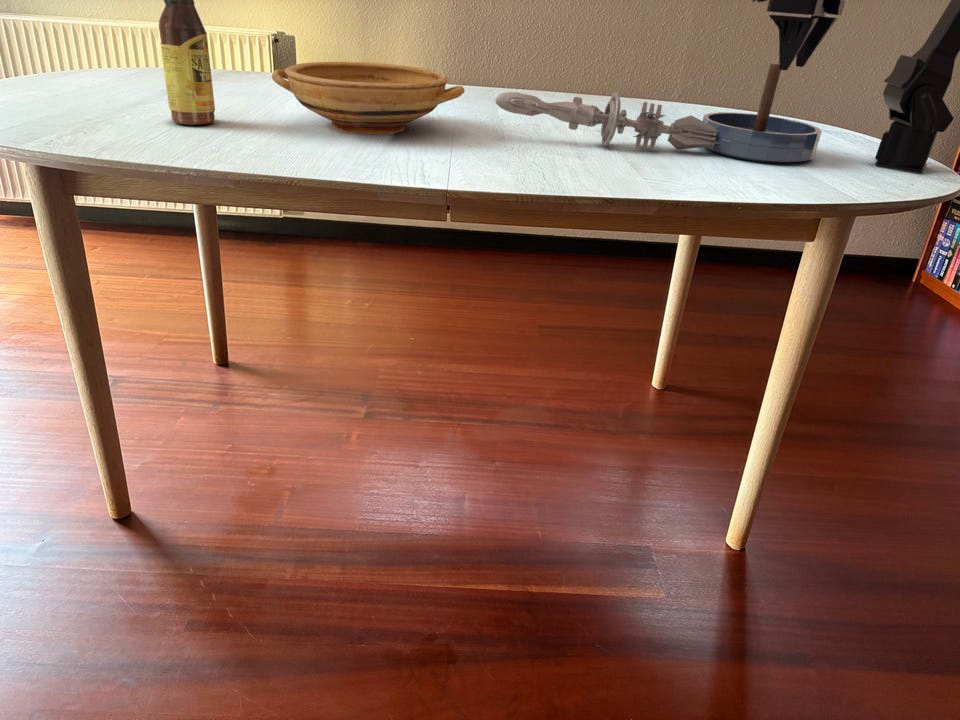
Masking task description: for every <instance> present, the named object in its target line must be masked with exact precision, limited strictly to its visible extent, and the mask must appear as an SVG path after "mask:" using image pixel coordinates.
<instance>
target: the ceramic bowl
mask: <svg viewBox="0 0 960 720" xmlns="http://www.w3.org/2000/svg"><path fill="white" fill-rule="evenodd" d="M271 79H272V81H273V82H274V83H275V84H277V85H278V86H280V87H282V88H283V89H285V90H286V91H288V92H290V93H291V94H293V96H294V97H295V99H296V100H297V102H298V103H300V104H301V105H302V106H303V107H304V108H306V109H307V110H309V111H311V112H313V113H315V114H316V115H318V116H321V117H323V118H324V119H326V120H328V121H331V127H332V128H334V130H338V131H341V132H345V133H351V134H357V135H359V134H360V135H390V134H396V133H401V132H403V131H404V130H405V129H406V124H409V123H411V122H413V121H415V120H418V119H419V118H422V117H424V116H427V115H428V114H431V113H432V112H433V111H434V110H435V109H436V108H437V107H438V105H441V104H445V103H446V102H449V101H452V100H456V99H457V98H460V97H461V96H462V95H463V94H464V93H465V87H464V86H463V85H456V86H452V87H448V88H446V84H448V81H449V78H448V76H447V75H445V74H444V73H442V72H439V71H437V70H432V69H429V68H422V67H417V66H411V65H403V64H393V63H382V62H367V61H365V62H364V61H312V62H302V63H296V64H292V65H290V66H287V67H285V69H276V70H274V71H272V73H271Z"/></svg>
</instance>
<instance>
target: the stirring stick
mask: <svg viewBox="0 0 960 720" xmlns="http://www.w3.org/2000/svg"><path fill="white" fill-rule="evenodd" d="M781 72H782V70H780V69H779V62H778V63H777V62H770V63H769V66H768V70H767V74H766V78H765V82H764V86H763V89H762V94H761V97H760V102H759V107H758V109H757V113H756V114H757V117H756V121H755V125H754V129H753V130H755V131H763V132H765V130H766V126H767V122H768V118H769V116H771V115H770V114H771V110H772V108H773V103H774V100H775V96H776V92H777V87H778V83H779V80H780V77H781Z"/></svg>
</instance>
